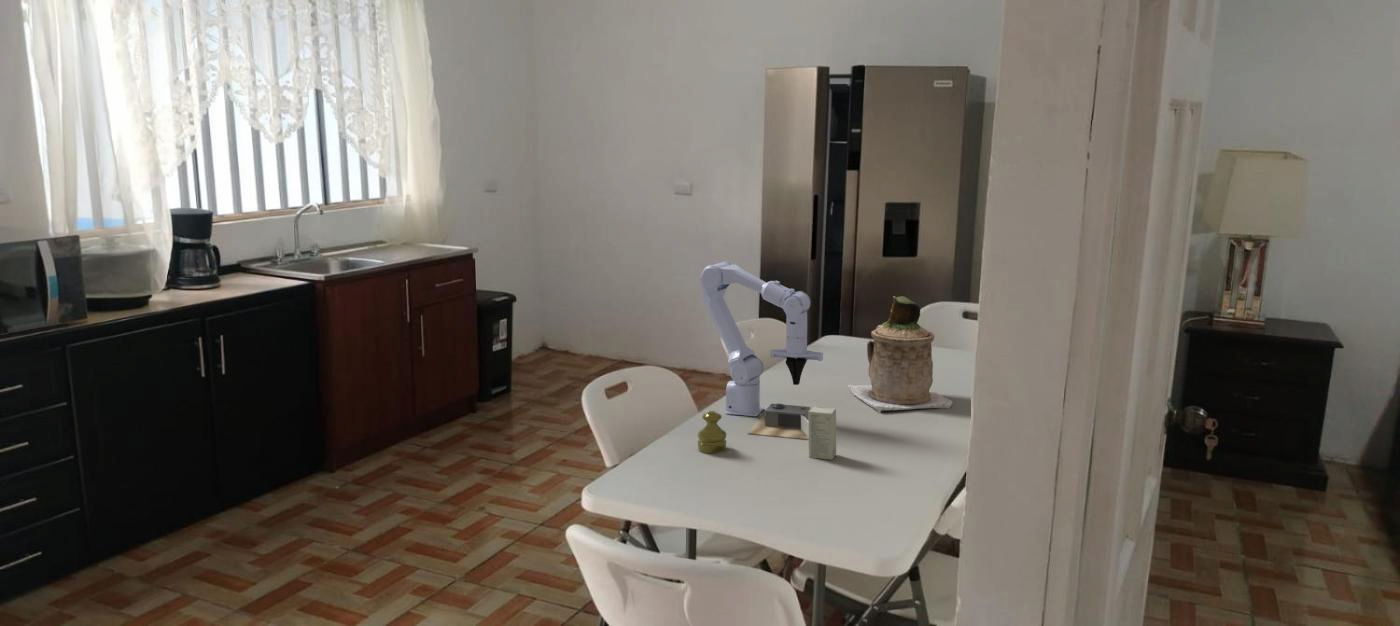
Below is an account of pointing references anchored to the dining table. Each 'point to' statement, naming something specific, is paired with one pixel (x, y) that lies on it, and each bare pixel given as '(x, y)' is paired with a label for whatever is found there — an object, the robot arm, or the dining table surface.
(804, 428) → the side door
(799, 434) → the wooden board
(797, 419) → the camera body
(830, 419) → the skincare box
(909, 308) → the cookie jar
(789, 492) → the dining table surface
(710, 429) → the salt shaker
